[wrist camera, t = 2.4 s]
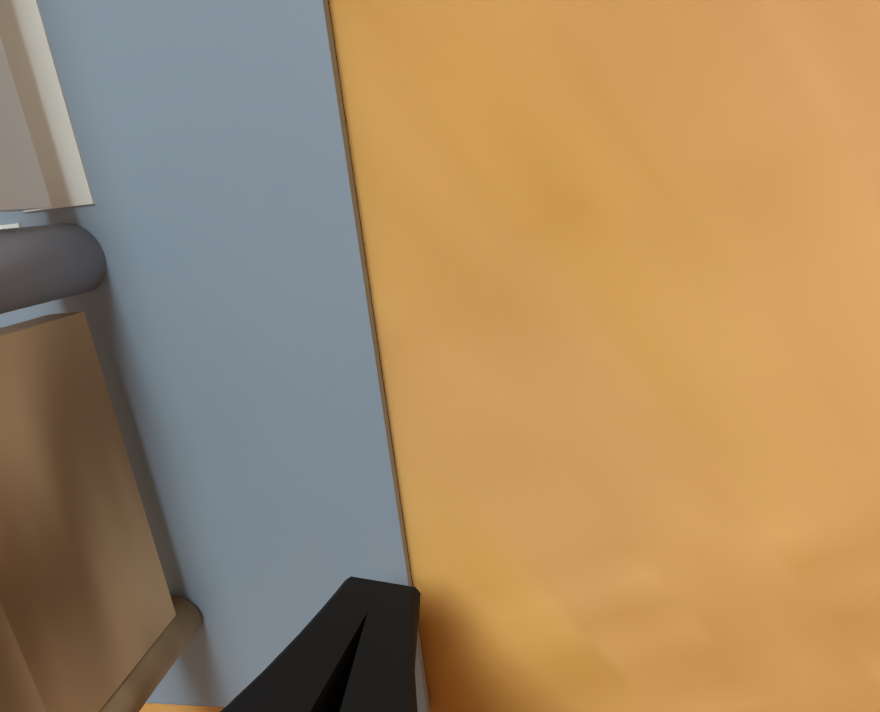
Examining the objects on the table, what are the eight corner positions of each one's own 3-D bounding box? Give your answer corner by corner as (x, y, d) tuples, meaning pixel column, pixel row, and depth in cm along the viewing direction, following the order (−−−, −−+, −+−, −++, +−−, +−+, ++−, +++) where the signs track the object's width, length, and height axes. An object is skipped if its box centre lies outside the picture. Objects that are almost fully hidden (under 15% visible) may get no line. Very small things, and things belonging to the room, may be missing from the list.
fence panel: (60, 309, 11) (-226, 389, 7) (111, 304, 11) (-152, 384, 7) (163, 634, 14) (-1, 841, 9) (206, 635, 14) (57, 848, 9)
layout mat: (-85, 680, 16) (-96, 689, 16) (-576, -305, 10) (-614, -322, 9) (429, 707, 14) (427, 720, 13) (237, -626, 7) (223, -663, 7)
